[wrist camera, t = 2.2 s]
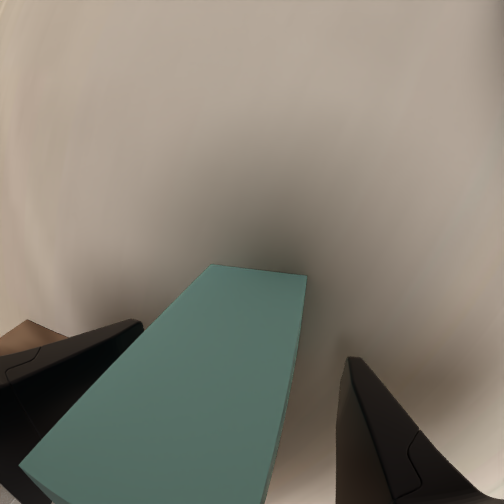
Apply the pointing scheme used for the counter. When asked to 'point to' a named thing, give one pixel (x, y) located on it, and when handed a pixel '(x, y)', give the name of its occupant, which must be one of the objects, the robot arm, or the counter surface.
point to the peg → (185, 401)
